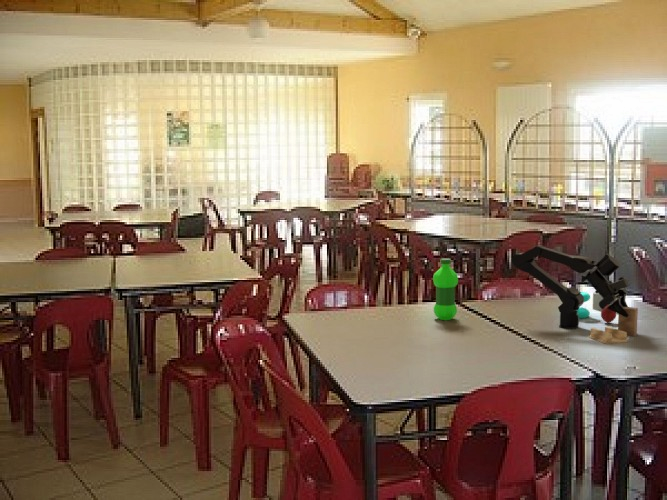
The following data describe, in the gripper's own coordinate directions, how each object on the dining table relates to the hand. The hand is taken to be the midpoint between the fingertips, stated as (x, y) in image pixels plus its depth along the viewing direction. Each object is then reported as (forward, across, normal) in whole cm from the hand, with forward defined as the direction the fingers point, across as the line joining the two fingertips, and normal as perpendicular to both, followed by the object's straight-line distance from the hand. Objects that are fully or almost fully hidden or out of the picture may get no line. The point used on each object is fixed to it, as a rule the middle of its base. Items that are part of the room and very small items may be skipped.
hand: (629, 315), depth 298 cm
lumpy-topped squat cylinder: (-10, +44, +20) cm, 50 cm away
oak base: (+2, -13, +8) cm, 15 cm away
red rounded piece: (-3, +15, +14) cm, 20 cm away
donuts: (-14, +21, +24) cm, 35 cm away
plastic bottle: (-44, -14, +55) cm, 72 cm away
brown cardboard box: (+5, 0, +5) cm, 7 cm away
